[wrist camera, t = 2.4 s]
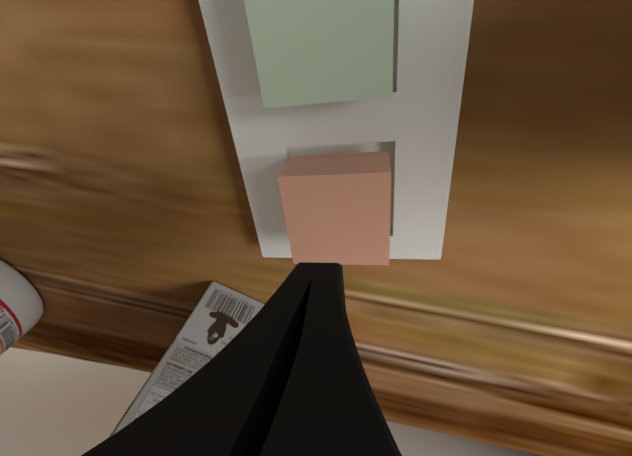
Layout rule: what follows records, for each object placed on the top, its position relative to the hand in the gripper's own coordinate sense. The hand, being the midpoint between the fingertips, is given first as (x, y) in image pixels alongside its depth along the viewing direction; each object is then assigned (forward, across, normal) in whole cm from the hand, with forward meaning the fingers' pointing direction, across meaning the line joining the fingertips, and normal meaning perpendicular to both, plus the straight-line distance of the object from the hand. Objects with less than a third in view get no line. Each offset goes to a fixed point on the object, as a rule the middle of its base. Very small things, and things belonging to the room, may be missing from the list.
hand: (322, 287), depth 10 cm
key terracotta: (+6, 0, 0) cm, 6 cm away
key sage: (+6, 0, -7) cm, 9 cm away
